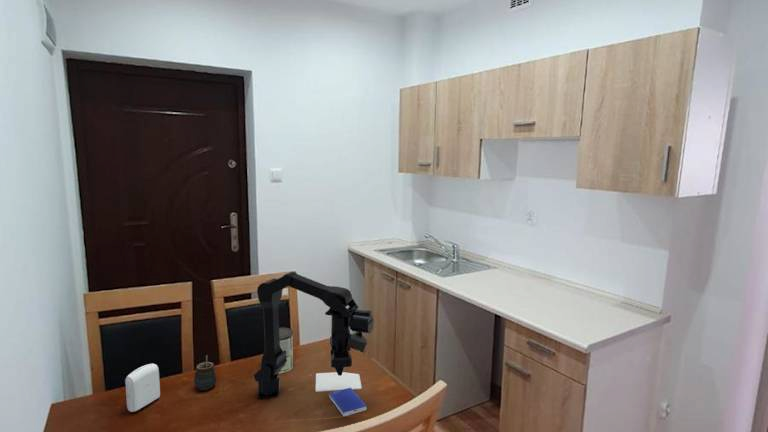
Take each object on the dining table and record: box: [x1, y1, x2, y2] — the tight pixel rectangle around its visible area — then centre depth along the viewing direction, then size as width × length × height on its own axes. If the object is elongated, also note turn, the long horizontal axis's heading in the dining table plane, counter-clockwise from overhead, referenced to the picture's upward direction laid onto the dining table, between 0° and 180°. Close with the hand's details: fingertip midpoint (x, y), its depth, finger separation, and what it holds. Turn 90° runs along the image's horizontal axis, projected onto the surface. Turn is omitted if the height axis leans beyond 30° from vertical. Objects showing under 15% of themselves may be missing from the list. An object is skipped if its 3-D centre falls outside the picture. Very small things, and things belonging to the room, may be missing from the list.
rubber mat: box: [315, 371, 363, 393], centre depth 151 cm, size 16×12×1 cm
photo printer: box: [124, 363, 161, 413], centre depth 135 cm, size 10×4×12 cm, turn 158°
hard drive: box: [328, 388, 368, 417], centre depth 137 cm, size 2×8×12 cm
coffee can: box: [278, 327, 294, 374], centre depth 160 cm, size 10×10×14 cm
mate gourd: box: [193, 354, 217, 391], centre depth 146 cm, size 7×8×10 cm
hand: (339, 375), depth 135 cm, fingers closed
